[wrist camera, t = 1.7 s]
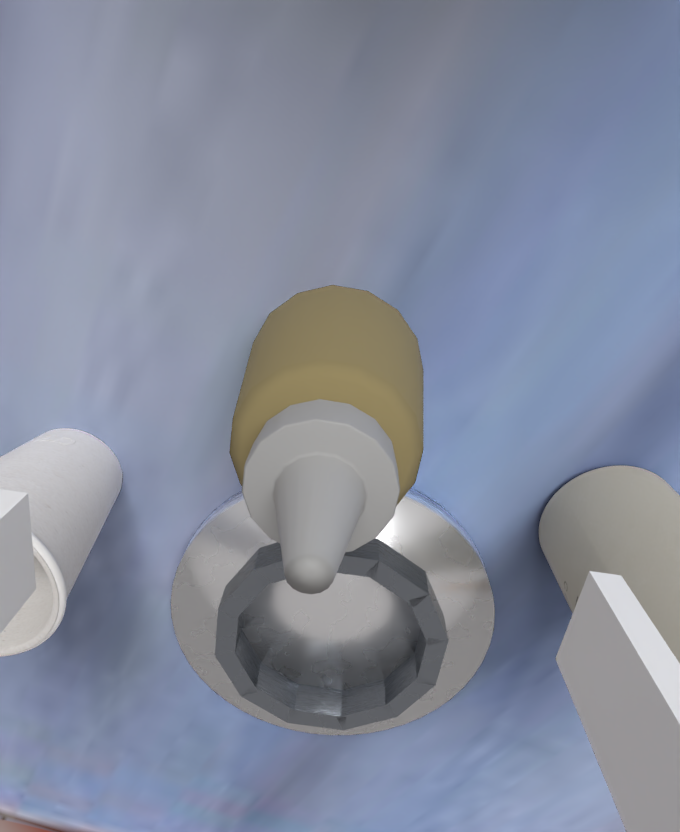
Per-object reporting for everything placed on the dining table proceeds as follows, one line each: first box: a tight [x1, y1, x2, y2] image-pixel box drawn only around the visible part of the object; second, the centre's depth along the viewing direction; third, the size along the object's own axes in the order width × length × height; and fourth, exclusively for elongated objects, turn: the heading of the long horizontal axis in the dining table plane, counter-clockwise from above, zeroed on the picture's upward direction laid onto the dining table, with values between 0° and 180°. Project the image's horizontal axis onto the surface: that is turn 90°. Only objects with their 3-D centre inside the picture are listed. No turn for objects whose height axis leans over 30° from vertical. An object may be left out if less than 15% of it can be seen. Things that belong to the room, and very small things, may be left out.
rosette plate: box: [171, 488, 495, 735], centre depth 35 cm, size 20×20×4 cm
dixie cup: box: [0, 428, 123, 657], centre depth 29 cm, size 8×8×10 cm
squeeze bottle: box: [230, 285, 423, 594], centre depth 21 cm, size 8×8×18 cm
